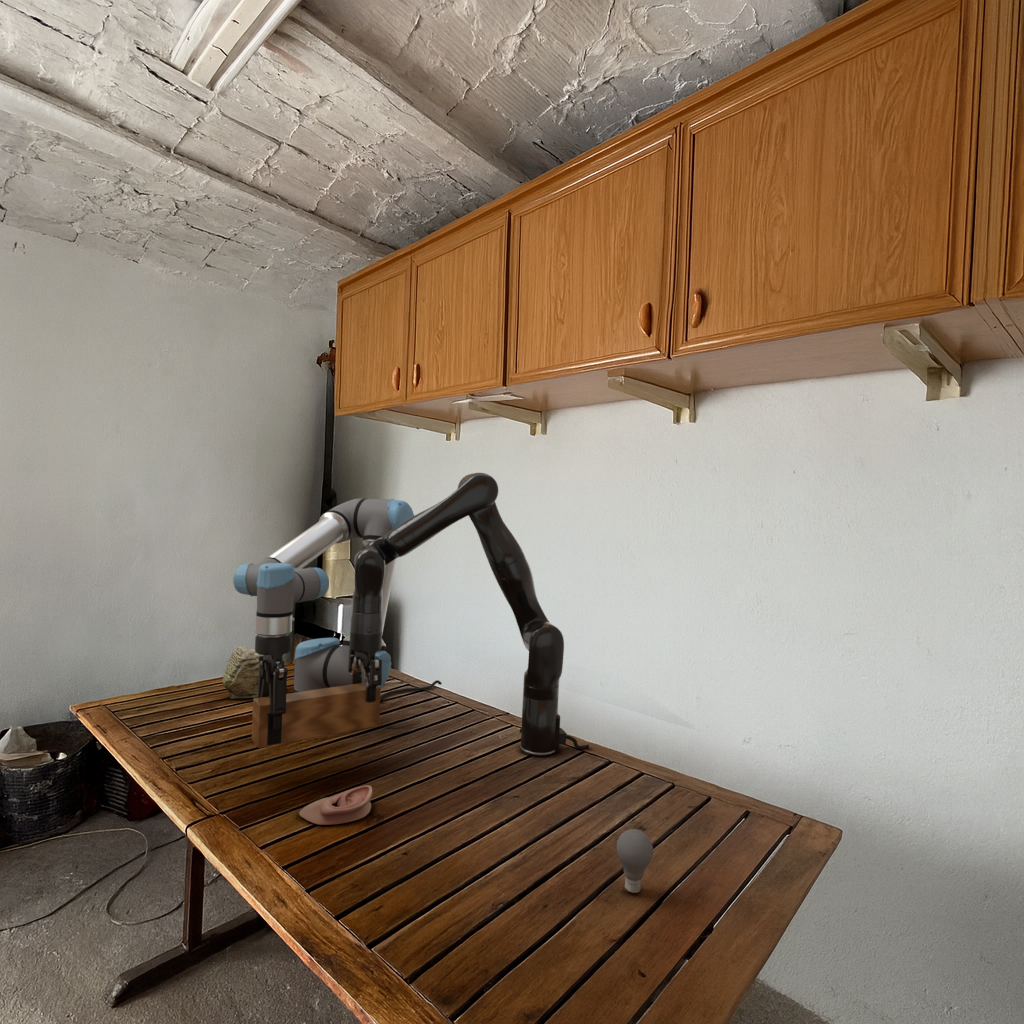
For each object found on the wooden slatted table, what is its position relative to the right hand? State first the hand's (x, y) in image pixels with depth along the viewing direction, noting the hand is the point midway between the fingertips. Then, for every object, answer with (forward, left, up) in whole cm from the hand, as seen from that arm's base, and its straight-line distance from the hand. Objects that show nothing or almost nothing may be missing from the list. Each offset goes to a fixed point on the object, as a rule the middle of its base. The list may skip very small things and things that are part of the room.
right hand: (363, 697), depth 152 cm
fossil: (+31, -56, -16) cm, 66 cm away
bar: (+10, +4, -7) cm, 13 cm away
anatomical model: (+6, +24, -16) cm, 29 cm away
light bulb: (-42, +60, -16) cm, 75 cm away
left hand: (+20, +8, -6) cm, 22 cm away
